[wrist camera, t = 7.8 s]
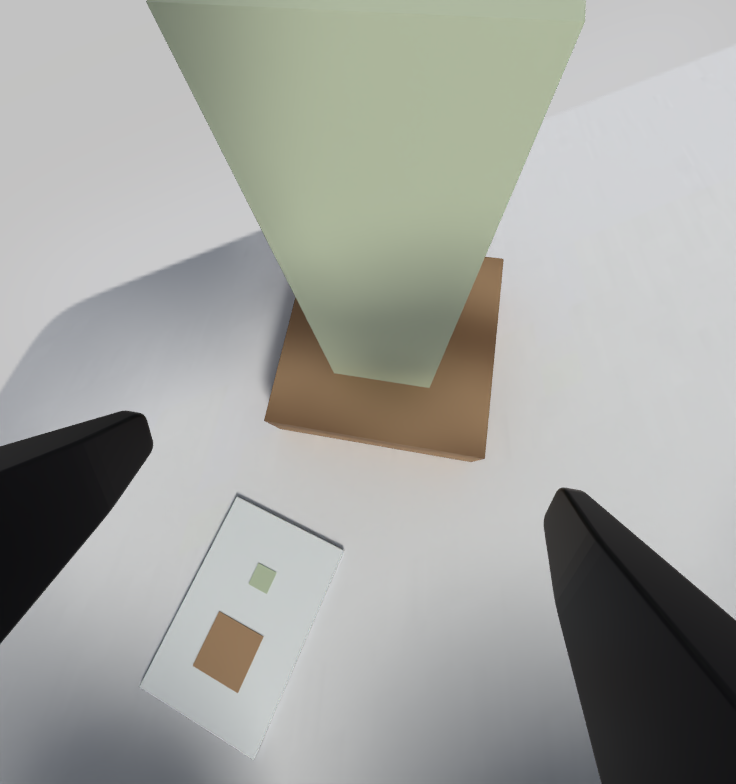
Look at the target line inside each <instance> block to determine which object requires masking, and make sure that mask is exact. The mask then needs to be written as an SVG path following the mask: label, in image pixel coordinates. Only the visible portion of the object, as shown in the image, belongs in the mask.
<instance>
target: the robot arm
mask: <svg viewBox="0 0 736 784" xmlns="http://www.w3.org/2000/svg"><path fill="white" fill-rule="evenodd" d="M152 448H153V440H152V436H151V433H150V429H149V426H148V422H147V419H146V417H145V416H144V415H143V414H141V413H137V412H132V411H120V412H117V413H113V414H110V415H106V416H103V417H100V418H96V419H93V420H89V421H86V422H82V423H79V424H76V425H72V426H69V427H65V428H62V429H58V430H55V431H52V432H48V433H45V434H41V435H38V436H34V437H31V438H28V439H24V440H21V441H17V442H14V443H10V444H7V445H4V446H0V644H1V642H2V641H3V640H4V639H5V638H6V636H7V635H8V634H9V633H10V632H11V630H12V629H13V628H14V627H15V626H16V624H17V623H18V622H19V621H20V620H21V618H22V617H23V616H24V615H25V614H26V612H27V611H28V610H29V609H30V608H31V606H32V605H33V604H34V603H35V602H36V600H37V599H38V598H39V597H40V596H41V594H42V593H43V592H44V591H45V590H46V588H47V587H48V586H49V585H50V583H51V582H52V581H53V580H54V579H55V577H56V576H57V575H58V574H59V573H60V571H61V570H62V569H63V568H64V567H65V565H66V564H67V563H68V562H69V561H70V559H71V558H72V557H73V556H74V555H75V553H76V552H77V551H78V550H79V549H80V547H81V546H82V545H83V544H84V543H85V541H86V540H87V539H88V538H89V537H90V535H91V534H92V533H93V532H94V531H95V529H96V528H97V527H98V526H99V525H100V523H101V522H102V521H103V520H104V518H105V517H106V516H107V515H108V513H109V512H110V511H111V509H112V508H113V507H114V505H115V504H116V503H117V501H118V500H119V498H120V497H121V495H122V494H123V492H124V491H125V490H126V488H127V487H128V485H129V484H130V482H131V481H132V479H133V478H134V477H135V475H136V474H137V472H138V471H139V469H140V468H141V466H142V465H143V463H144V462H145V461H146V459H147V458H148V456H149V455H150V453H151V451H152ZM544 531H545V538H546V545H547V552H548V559H549V565H550V572H551V579H552V586H553V592H554V598H555V604H556V608H557V612H558V617H559V621H560V624H561V628H562V632H563V636H564V640H565V644H566V648H567V652H568V656H569V659H570V663H571V667H572V671H573V675H574V679H575V683H576V687H577V691H578V694H579V698H580V702H581V706H582V710H583V714H584V718H585V722H586V726H587V729H588V733H589V737H590V741H591V745H592V749H593V753H594V757H595V760H596V764H597V768H598V772H599V776H600V780H601V784H736V620H735V619H734V618H732V617H731V616H730V615H729V614H728V613H726V612H725V611H724V610H723V609H722V608H721V607H719V606H718V605H717V604H716V603H715V602H714V601H712V600H711V599H710V598H709V597H708V596H706V595H705V594H704V593H703V592H702V591H701V590H699V589H698V588H697V587H696V586H695V585H693V584H692V583H691V582H690V581H689V580H688V579H686V578H685V577H684V576H683V575H682V574H681V573H679V572H678V571H677V570H676V569H675V568H673V567H672V566H671V565H670V564H669V563H668V562H666V561H665V560H664V559H663V558H662V557H660V556H659V555H658V554H657V553H656V552H655V551H653V550H652V549H651V548H650V547H649V546H648V545H646V544H645V543H644V542H643V541H642V540H640V539H639V538H638V537H637V536H636V535H635V534H633V533H632V532H631V531H630V530H629V529H628V528H626V527H625V526H624V525H623V524H622V523H620V522H619V521H618V520H617V519H616V518H615V517H613V516H612V515H611V514H610V513H609V512H607V511H606V510H605V509H604V508H603V507H602V506H600V505H599V504H598V503H597V502H596V501H595V500H593V499H592V498H591V497H590V496H589V495H587V494H586V493H585V492H583V491H581V490H576V489H570V488H560V489H559V490H558V491H557V492H556V494H555V496H554V498H553V500H552V502H551V504H550V506H549V508H548V510H547V512H546V514H545V517H544Z"/></svg>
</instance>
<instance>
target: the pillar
mask: <svg viewBox="0 0 736 784" xmlns="http://www.w3.org/2000/svg"><path fill="white" fill-rule="evenodd" d="M146 2H147V4H148V6H149V8H150V10H151V12H152V14H153V16H154V18H155V20H156V22H157V24H158V26H159V28H160V30H161V32H162V34H163V36H164V38H165V40H166V42H167V44H168V46H169V48H170V50H171V52H172V53H173V56H174V58H175V60H176V62H177V64H178V66H179V68H180V69H181V71H182V74H183V75H184V78H185V79H186V81H187V83H188V85H189V87H190V89H191V91H192V93H193V95H194V97H195V99H196V101H197V103H198V105H199V107H200V109H201V111H202V113H203V115H204V117H205V119H206V121H207V123H208V125H209V127H210V129H211V131H212V133H213V135H214V137H215V139H216V141H217V143H218V145H219V147H220V149H221V151H222V153H223V155H224V156H225V159H226V161H227V162H228V164H229V166H230V168H231V170H232V172H233V174H234V176H235V178H236V180H237V182H238V184H239V186H240V188H241V190H242V192H243V194H244V196H245V198H246V200H247V202H248V204H249V206H250V208H251V210H252V212H253V214H254V216H255V218H256V220H257V222H258V224H259V226H260V228H261V230H262V232H263V234H264V236H265V238H266V240H267V242H268V244H269V246H270V248H271V250H272V252H273V253H274V255H275V257H276V259H277V261H278V263H279V265H280V267H281V269H282V271H283V273H284V275H285V277H286V279H287V281H288V283H289V285H290V287H291V289H292V291H293V293H294V295H295V297H296V299H297V301H298V303H299V305H300V307H301V309H302V311H303V313H304V315H305V317H306V319H307V321H308V323H309V325H310V327H311V329H312V331H313V333H314V335H315V337H316V339H317V340H318V342H319V344H320V346H321V348H322V350H323V352H324V354H325V356H326V358H327V360H328V362H329V364H330V366H331V368H332V370H333V372H334V373H336V374H343V375H349V376H355V377H362V378H368V379H375V380H381V381H387V382H394V383H400V384H407V385H413V386H419V387H426V388H430V385H431V383H432V381H433V378H434V376H435V374H436V371H437V369H438V366H439V364H440V362H441V359H442V357H443V355H444V352H445V350H446V348H447V345H448V343H449V341H450V338H451V336H452V334H453V331H454V329H455V326H456V324H457V322H458V319H459V317H460V315H461V312H462V310H463V308H464V305H465V303H466V301H467V298H468V296H469V293H470V291H471V289H472V286H473V284H474V282H475V279H476V277H477V275H478V272H479V270H480V268H481V265H482V263H483V260H484V258H485V256H486V253H487V251H488V249H489V246H490V244H491V242H492V239H493V237H494V235H495V232H496V230H497V228H498V225H499V223H500V220H501V218H502V216H503V213H504V211H505V209H506V206H507V204H508V202H509V199H510V197H511V195H512V192H513V190H514V187H515V185H516V183H517V180H518V178H519V176H520V173H521V171H522V169H523V166H524V164H525V162H526V159H527V157H528V155H529V152H530V150H531V147H532V145H533V143H534V140H535V138H536V136H537V133H538V131H539V129H540V126H541V124H542V122H543V119H544V117H545V114H546V112H547V110H548V107H549V105H550V103H551V100H552V98H553V96H554V93H555V91H556V89H557V86H558V84H559V81H560V79H561V77H562V74H563V72H564V70H565V67H566V65H567V63H568V60H569V58H570V56H571V53H572V51H573V49H574V46H575V44H576V41H577V39H578V37H579V34H580V32H581V29H582V27H583V25H584V22H585V6H586V0H147V1H146Z"/></svg>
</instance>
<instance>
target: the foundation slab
mask: <svg viewBox="0 0 736 784" xmlns="http://www.w3.org/2000/svg"><path fill="white" fill-rule="evenodd" d="M502 270H503V259H500V258H491V257H485V258H484V260H483V263H482V265H481V268H480V270H479V272H478V275H477V277H476V279H475V282H474V284H473V286H472V289H471V291H470V293H469V296H468V298H467V301H466V303H465V305H464V308H463V310H462V312H461V315H460V317H459V319H458V322H457V324H456V326H455V329H454V331H453V334H452V336H451V338H450V341H449V343H448V345H447V348H446V350H445V352H444V355H443V357H442V359H441V362H440V364H439V366H438V369H437V371H436V374H435V376H434V378H433V381H432V383H431V385H430V388H426V387H419V386H413V385H407V384H400V383H394V382H387V381H381V380H375V379H368V378H362V377H355V376H349V375H343V374H336V373H334V372H333V370H332V368H331V366H330V364H329V362H328V360H327V358H326V356H325V354H324V352H323V350H322V348H321V346H320V344H319V342H318V340H317V339H316V337H315V335H314V333H313V331H312V329H311V327H310V325H309V323H308V321H307V319H306V317H305V315H304V313H303V311H302V309H301V307H300V305H299V303H298V301H297V299H296V297H295V301H294V305H293V309H292V313H291V317H290V321H289V325H288V329H287V333H286V337H285V341H284V345H283V348H282V352H281V356H280V360H279V364H278V368H277V372H276V376H275V380H274V384H273V388H272V392H271V396H270V399H269V403H268V407H267V411H266V415H265V419H264V421H266V422H268V423H270V424H272V425H274V426H276V427H278V428H280V429H285V430H290V431H296V432H302V433H308V434H313V435H319V436H325V437H331V438H336V439H342V440H348V441H354V442H359V443H365V444H371V445H377V446H382V447H388V448H394V449H400V450H405V451H411V452H417V453H423V454H428V455H434V456H440V457H446V458H451V459H457V460H463V461H469V462H473V461H477V460H481V459H485V450H486V439H487V429H488V418H489V407H490V397H491V386H492V376H493V365H494V354H495V344H496V333H497V323H498V312H499V301H500V291H501V280H502Z"/></svg>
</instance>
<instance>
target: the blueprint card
mask: <svg viewBox="0 0 736 784" xmlns="http://www.w3.org/2000/svg"><path fill="white" fill-rule="evenodd" d="M343 552H344V550H343V549H341V548H339V547H337V546H335V545H333V544H331V543H329V542H327V541H325V540H323V539H321V538H319V537H317V536H315V535H313V534H311V533H309V532H307V531H305V530H303V529H301V528H299V527H297V526H295V525H293V524H291V523H289V522H287V521H285V520H283V519H281V518H279V517H277V516H275V515H273V514H271V513H269V512H267V511H265V510H263V509H262V508H260V507H258V506H256V505H254V504H252V503H250V502H248V501H246V500H244V499H242V498H240V497H236V499H235V501H234V503H233V505H232V507H231V509H230V511H229V513H228V515H227V517H226V519H225V521H224V523H223V525H222V527H221V529H220V530H219V532H218V534H217V536H216V538H215V540H214V542H213V544H212V546H211V548H210V550H209V552H208V554H207V556H206V558H205V560H204V562H203V564H202V566H201V568H200V570H199V571H198V573H197V575H196V577H195V579H194V581H193V583H192V585H191V587H190V589H189V591H188V593H187V595H186V597H185V599H184V601H183V603H182V605H181V607H180V609H179V610H178V612H177V614H176V616H175V618H174V620H173V622H172V624H171V626H170V628H169V630H168V632H167V634H166V636H165V638H164V640H163V642H162V644H161V646H160V648H159V650H158V651H157V653H156V655H155V657H154V659H153V661H152V663H151V665H150V667H149V669H148V671H147V673H146V675H145V677H144V679H143V681H142V683H141V685H140V688H141V689H143V690H144V691H146V692H147V693H149V694H151V695H152V696H154V697H155V698H157V699H158V700H160V701H161V702H163V703H165V704H166V705H168V706H169V707H171V708H172V709H174V710H176V711H177V712H179V713H180V714H182V715H183V716H185V717H186V718H188V719H190V720H191V721H193V722H194V723H196V724H197V725H199V726H201V727H202V728H204V729H205V730H207V731H208V732H210V733H211V734H213V735H215V736H216V737H218V738H219V739H221V740H222V741H224V742H225V743H227V744H229V745H230V746H232V747H233V748H235V749H236V750H238V751H240V752H241V753H243V754H244V755H246V756H247V757H249V758H250V759H252V760H254V759H255V757H256V754H257V752H258V750H259V747H260V745H261V743H262V740H263V738H264V736H265V733H266V731H267V729H268V726H269V724H270V722H271V719H272V717H273V715H274V712H275V710H276V708H277V705H278V703H279V701H280V698H281V696H282V694H283V691H284V689H285V687H286V684H287V682H288V680H289V677H290V675H291V673H292V670H293V668H294V666H295V664H296V661H297V659H298V657H299V654H300V652H301V650H302V647H303V645H304V643H305V640H306V638H307V636H308V633H309V631H310V629H311V626H312V624H313V622H314V619H315V617H316V615H317V612H318V610H319V608H320V605H321V603H322V601H323V598H324V596H325V594H326V591H327V589H328V587H329V584H330V582H331V580H332V577H333V575H334V573H335V570H336V568H337V566H338V563H339V561H340V559H341V556H342V554H343Z"/></svg>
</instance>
